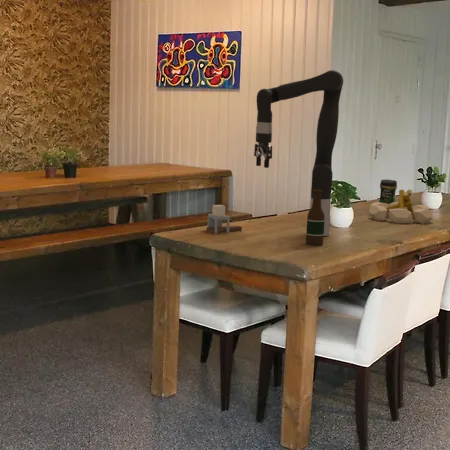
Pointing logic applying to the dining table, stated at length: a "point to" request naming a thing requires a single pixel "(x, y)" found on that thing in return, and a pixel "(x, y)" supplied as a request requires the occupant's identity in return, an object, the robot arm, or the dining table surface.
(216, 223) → the tunnel
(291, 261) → the dining table surface
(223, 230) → the bar
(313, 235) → the beer bottle
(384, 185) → the coffee jar
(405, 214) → the campfire
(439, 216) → the dining table surface
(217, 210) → the block
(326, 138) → the robot arm
